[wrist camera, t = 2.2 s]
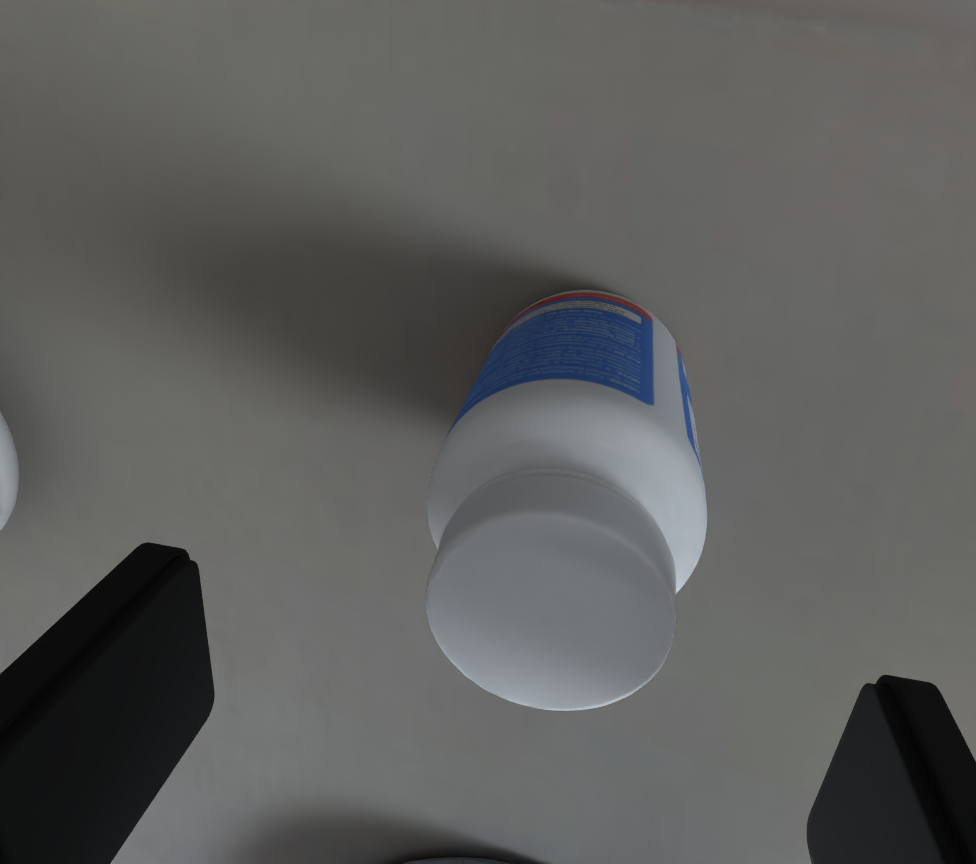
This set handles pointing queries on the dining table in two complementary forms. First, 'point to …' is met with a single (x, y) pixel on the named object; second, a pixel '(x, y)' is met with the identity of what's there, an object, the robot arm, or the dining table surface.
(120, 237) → the dining table surface
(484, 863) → the pan
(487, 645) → the pill bottle
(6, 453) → the spoon
